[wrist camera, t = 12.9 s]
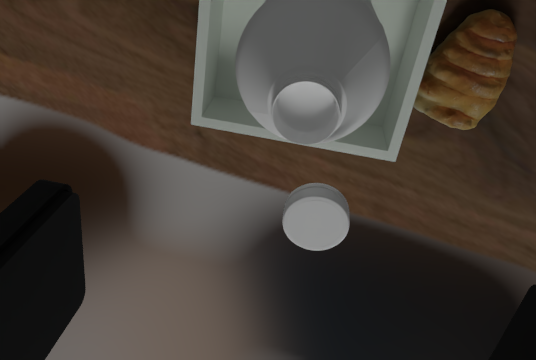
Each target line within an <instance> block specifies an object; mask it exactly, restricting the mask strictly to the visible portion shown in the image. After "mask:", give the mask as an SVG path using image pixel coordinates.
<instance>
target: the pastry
mask: <svg viewBox="0 0 536 360" xmlns="http://www.w3.org/2000/svg"><path fill="white" fill-rule="evenodd" d="M516 41H517V33H516V30H515V27H514V25H513V23H512V21H511V19H510V18H509V17H508V16H507V15H506V14H504V13H502V12H499V11H496V10H494V9H488V10H484V11H481V12H478V13H474V14H471V15H469V16H468V17H467V18H466V19H465V20H464V22H462V23H461V24H460V25H459V26H458V28H457V29H456V30H454V31H453V32H451V33H450V34H449V35H448V36H447V38H446V39H445V40H444V41H443V42H442V43H441V44H439V45H438V46H437V48H436V50H435V51H434V52H433V53H432V54H431V55H430V56H429V58H428V61H427V66H426V67H425V70H424V73H423V77H422V80H421V83H420V86H419V89H418V92H417V95H416V98H415V102H414V105H413V107H414V108H415V109H417V110H418V111H420V112H423V113H425V114H427V115H428V116H429V117H431V118H433V119H435V120H437V121H439V122H441V123H443V124H445V125H447V126H449V127H453V128H459V129H463V130H467V129H471V128H474V127H476V125H477V123H478V122H479V120H480V119H481V118H482V117H483V116H485V115H486V114H487V113H488V112H489V111H490V110H491V109H492V108H493V107H494V106H495V104H496V102H497V100H498V98H499V95H500V93H501V92H502V90H503V89H504V87H505V85H506V81H507V78H508V77H509V75H510V68H511V65H512V62H513V51H514V47H515V43H516Z"/></svg>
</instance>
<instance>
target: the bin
mask: <svg viewBox="0 0 536 360" xmlns="http://www.w3.org/2000/svg"><path fill="white" fill-rule="evenodd" d="M265 1H266V0H199V13H198V28H197V43H196V57H195V72H194V87H193V102H192V116H191V124H192V125H197V126H203V127H208V128H214V129H219V130H225V131H230V132H235V133H241V134H246V135H252V136H257V137H263V138H268V139H273V140H279V141H284V142H290V141H288V140H286V139H283V138H281V137H279V136H277V135H275V134H273V133H271V132H270V131H268V130H267V129H266V128H264V127H263V126H262V125H261V124H260V123H259V122H258V121H257V120H256V119H255V118H254V117H253V116H252V114H251V113H250V112H249V111H248V110H247V108H246V106H245V104H244V101H243V99H242V97H241V94H240V91H239V88H238V84H237V79H236V70H235V62H236V53H237V48H238V44H239V41H240V38H241V35H242V33H243V31H244V29H245V27H246V25H247V23H248V22H249V20H250V19H251V17H252V16H253V15H254V13H255V12H256V11H257V10H258V9H259V8H260V7H261V6H262V4H263V3H264V2H265ZM446 1H447V0H371V2H372V5H373V8H374V10H375V12H376V14H377V17H378V19H379V21H380V23H381V24H382V25H383V28H384V31H385V34H386V37H387V41H388V45H389V50H390V60H391V66H390V76H389V81H388V85H387V88H386V91H385V93H384V96H383V98H382V100H381V102H380V104H379V105H378V107H377V108H376V110H375V111H374V113H373V114H372V115H371V116H370V118H369V119H368V120H367V121H366V122H365V123H364V124H362V125H361V126H360V127H359V128H357V129H356V130H355V131H353V132H352V133H350V134H348V135H346V136H344V137H342V138H340V139H337V140H334V141H330V142H326V143H320V144H312V145H306V146H311V147H317V148H322V149H328V150H333V151H339V152H344V153H349V154H355V155H360V156H366V157H371V158H377V159H382V160H387V161H393V162H395V161H396V158H397V155H398V152H399V149H400V145H401V142H402V139H403V136H404V133H405V130H406V127H407V123H408V120H409V117H410V114H411V111H412V108H413V105H414V102H415V98H416V95H417V92H418V89H419V86H420V83H421V80H422V77H423V73H424V70H425V67H426V64H427V61H428V58H429V55H430V51H431V48H432V45H433V42H434V39H435V36H436V33H437V30H438V26H439V23H440V20H441V17H442V14H443V11H444V8H445V4H446ZM290 143H293V142H290ZM295 144H296V143H295Z"/></svg>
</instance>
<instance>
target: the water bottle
mask: <svg viewBox="0 0 536 360" xmlns="http://www.w3.org/2000/svg"><path fill="white" fill-rule="evenodd" d="M390 66H391V60H390V50H389V45H388V41H387V37H386V34H385V31H384V28H383V25H382V24H381V23H380V21H379V19H378V17H377V14H376V12H375V10H374V8H373V5H372V2H371V0H266V1H265V2H264V3H263V4H262V6H261V7H260V8H259V9H258V10H257V11H256V12H255V13H254V15H253V16H252V17H251V19H250V20H249V22H248V23H247V25H246V27H245V29H244V31H243V33H242V35H241V38H240V41H239V44H238V48H237V53H236V62H235V70H236V79H237V84H238V88H239V91H240V94H241V97H242V99H243V101H244V104H245V106H246V108H247V110H248V111H249V112H250V113H251V114H252V116H253V117H254V118H255V119H256V120H257V121H258V122H259V123H260V124H261V125H262V126H263V127H264V128H266V129H267V130H268V131H270V132H271V133H273V134H275V135H277V136H279V137H281V138H283V139H286V140H288V141H290V142H293V143H296V144H300V145H312V144H320V143H326V142H330V141H334V140H337V139H340V138H342V137H344V136H346V135H348V134H350V133H352V132H353V131H355V130H356V129H357V128H359V127H360V126H361V125H362V124H364V123H365V122H366V121H367V120H368V119H369V118H370V116H371V115H372V114H373V113H374V111H375V110H376V108H377V107H378V105H379V104H380V102H381V100H382V98H383V96H384V93H385V91H386V88H387V85H388V81H389V76H390ZM282 222H283V223H282V224H283V228H284V231H285V233H286V235H287V237H288V238H289V239H290V240H291V241H292V242H293V243H295V244H296V245H298V246H300V247H302V248H304V249H308V250H326V249H329V248H332V247H334V246H336V245H337V244H339V243H340V242H341V241H342V240H343V239H344V238H345V237H346V235H347V233H348V229H349V224H350V222H349V207H348V203H347V201H346V199H345V197H344V196H343V195H342V193H340V192H339V191H338V190H337V189H335V188H334V187H332V186H329V185H326V184H322V183H310V184H305V185H302V186H300V187H298V188H296V189H295V190H294V191H293V192H292V193H291V194H290V195H289V196H288V198H287V200H286V202H285V206H284V212H283V219H282Z"/></svg>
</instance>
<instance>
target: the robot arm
mask: <svg viewBox="0 0 536 360" xmlns="http://www.w3.org/2000/svg"><path fill="white" fill-rule="evenodd" d="M84 295H85V274H84V260H83V245H82V230H81V215H80V200H79V196H78V194H76V193H73V192H72V189H71V187H70V186H69V185H68V184H63V183H58V182H52V181H48V180H38V181H37V182H36V183H34V184H33V185H32V186H31V187H30V188H29V189H27V190H26V191H25V192H24V193H23V194H22V195H21V196H20V197H18V198H17V199H16V200H15V201H14V202H13V203H12V204H10V205H9V206H8V207H7V208H6V209H5V210H4V211H2V212H1V213H0V360H45V358H46V357H47V356H48V354H49V353H50V351H51V349H52V348H53V346H54V345H55V343H56V342H57V340H58V339H59V337H60V336H61V334H62V333H63V331H64V330H65V328H66V327H67V325H68V324H69V322H70V321H71V319H72V317H73V316H74V315H75V313H76V312H77V310H78V309H79V307H80V306H81V304H82V301H83V299H84ZM489 360H536V285H533V286H531V287H530V288H529V290H528V292H527V294H526V295H525V297H524V299H523V300H522V302H521V304H520V306H519V308H518V309H517V311H516V313H515V314H514V316H513V318H512V320H511V321H510V323H509V325H508V327H507V329H506V330H505V332H504V334H503V336H502V337H501V339H500V341H499V343H498V344H497V346H496V348H495V350H494V351H493V353H492V355H491V357H490V358H489Z"/></svg>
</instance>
